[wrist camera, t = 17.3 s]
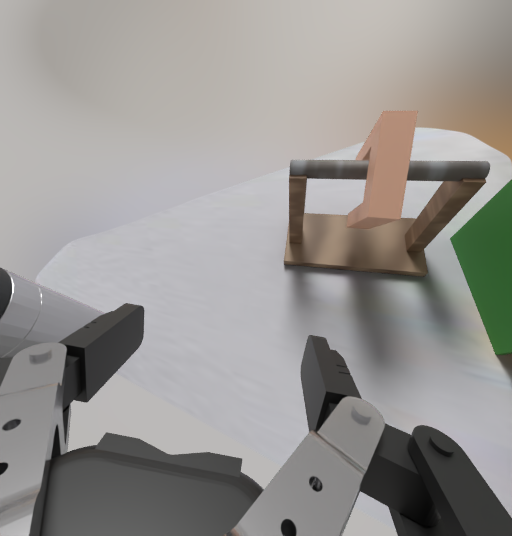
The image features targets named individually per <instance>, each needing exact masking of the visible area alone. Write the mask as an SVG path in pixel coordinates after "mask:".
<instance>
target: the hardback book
mask: <svg viewBox="0 0 512 536" xmlns="http://www.w3.org/2000/svg"><path fill="white" fill-rule="evenodd" d="M450 240H451V242H452V245H453V247H454V250H455V252H456V255H457V257H458V260H459V263H460V265H461V268H462V270H463V273H464V275H465V278H466V280H467V283H468V285H469V288H470V291H471V293H472V296H473V298H474V301H475V303H476V306H477V308H478V311H479V313H480V316H481V319H482V321H483V324H484V326H485V329H486V331H487V334H488V336H489V339H490V342H491V344H492V347H493V349H494V352H495V354H496V355H506V354H512V180H511V181H509V182H508V183H507V184H506V185H505V186H504V187H503V188H502V189H501V190H500V191H499V192H498V193H497V194H496V195H495V196H494V197H493V198H492V199H491V200H490V201H489V202H488V203H487V204H486V205H485V206H484V207H482V208H481V209H480V210H479V211H478V212H477V213H476V214H475V215H474V216H473V217H472V218H471V219H470V220H469V221H468V222H467V223H466V224H465V225H464V226H463V227H462V228H461V229H460V230H459V231H458V232H456V233H455V234H454V235H453V236H452V237H451V238H450Z"/></svg>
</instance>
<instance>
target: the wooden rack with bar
mask: <svg viewBox="0 0 512 536" xmlns="http://www.w3.org/2000/svg"><path fill="white" fill-rule="evenodd" d="M368 165H369V160H291V163H290V176H289V226H288V234H287V241H286V249H285V257H284V264H286V265H297V266H309V267H320V268H332V269H343V270H354V271H366V272H377V273H388V274H400V275H411V276H422V277H424V276H425V275H426V274H427V273H428V270H427V265H426V259H425V253H424V248H425V247H426V246H427V245H428V244H429V243H430V242H431V241H432V240H433V239H434V238H435V237H436V236H437V234H438V233H439V232H440V231H441V230H442V229H443V228H444V227H445V226H446V225H447V224H448V223H449V222H450V221H451V219H452V218H453V217H454V216H455V215H456V214H457V213H458V212H459V211H460V210H461V209H462V208H463V207H464V206H465V204H466V203H467V202H468V201H469V200H470V199H471V198H472V197H473V196H474V195H475V194H476V193H477V192H478V191H479V189H480V188H481V187H482V186H483V185H484V184H485V183H486V180H485V178H486V177H487V175H488V173H489V170H490V164H489V162H487V161H410V163H409V169H408V175H407V180H411V181H444V182H443V183H442V184H441V186H440V187H439V188H438V190H437V191H436V193H435V194H434V195H433V197H432V198H431V199H430V201H429V202H428V204H427V205H426V206H425V208H424V209H423V210H422V212H421V213H420V215H419V216H418V217H417V219H413V218H401V219H400V220H397V221H393V222H390V223H387V224H383V225H380V226H377V227H374V228H370V229H358V228H346V226H347V219H348V215H329V214H309V213H304V208H305V196H306V183H307V178H317V179H364V180H366V179H367V172H368Z"/></svg>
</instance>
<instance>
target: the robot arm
mask: <svg viewBox="0 0 512 536" xmlns="http://www.w3.org/2000/svg"><path fill="white" fill-rule="evenodd" d="M143 334H144V308H143V306H139V305H134V304H128V303H126V304H124V305H122V306H121V307H119V308H118V309H116V310H115V311H111V312H109V313H103V312H101V311H99V310H97V309H95V308H92V307H90V306H88V305H86V304H83V303H81V302H79V301H76V300H74V299H72V298H69V297H67V296H65V295H63V294H60V293H58V292H56V291H53V290H51V289H49V288H46V287H44V286H42V285H40V284H37V283H35V282H33V281H30V280H28V279H25V278H23V277H21V276H18V275H16V274H14V273H11V272H9V271H7V270H4V269H2V268H0V536H342V534H343V532H344V529H345V527H346V524H347V522H348V520H349V517H350V515H351V512H352V510H353V507H354V505H355V502H356V500H357V498H358V495H359V493H360V491H361V492H363V493H365V494H367V495H368V496H370V497H372V498H374V499H376V500H377V501H379V502H381V503H383V504H385V505H387V506H388V507H389V510H390V513H391V516H392V519H393V522H394V525H395V528H396V531H397V534H398V536H512V518H511V516H510V515H509V514H508V512H507V511H506V509H505V508H504V507H503V505H502V504H501V502H500V501H499V500H498V498H497V497H496V495H495V494H494V493H493V491H492V490H491V488H490V487H489V486H488V484H487V483H486V481H485V480H484V479H483V477H482V476H481V474H480V473H479V472H478V470H477V469H476V467H475V466H474V465H473V463H472V462H471V460H470V459H469V458H468V456H467V455H466V453H465V452H464V451H463V450H462V448H461V447H460V446H459V445H458V444H457V443H456V442H455V441H453V440H452V439H451V438H450V437H448V436H447V435H445V434H444V433H442V432H440V431H439V430H437V429H434V428H432V427H429V426H424V425H420V426H417V427H415V428H414V430H413V432H412V435H410V434H408V433H405V432H403V431H401V430H398V429H396V428H394V427H392V426H389V425H387V424H385V422H384V419H383V417H382V415H381V414H380V412H379V411H378V410H377V409H376V408H375V407H374V406H373V405H371V404H370V403H368V402H367V401H365V400H363V399H362V398H361V396H360V394H359V392H358V389H357V387H356V385H355V383H354V381H353V378H352V376H351V375H350V372H349V369H348V368H347V365H346V363H345V361H344V358H343V357H342V356H341V355H340V354H339V353H338V352H337V351H336V350H330V348H329V345H328V343H327V340H326V338H323V337H318V336H312V335H309V336H308V339H307V343H306V347H305V351H304V356H303V360H302V364H301V381H302V388H303V394H304V401H305V407H306V414H307V420H308V427H309V433H308V435H307V436H306V437H305V439H304V440H303V441H302V442H301V444H300V445H299V446H298V447H297V449H296V450H295V451H294V452H293V454H292V455H291V456H290V458H289V459H288V460H287V461H286V463H285V464H284V465H283V466H282V468H281V469H280V470H279V472H278V473H277V474H276V475H275V477H274V478H273V479H272V480H271V482H270V483H269V484H268V486H267V487H266V488H265V489H264V490H263V489H262V487H261V486H259V485H258V484H257V483H256V482H255V481H254V480H253V479H251V478H250V477H248V476H247V475H245V474H243V473H242V472H241V464H242V459H241V458H236V457H230V456H225V455H220V454H215V453H210V452H206V453H191V454H179V455H170V454H166V453H165V452H163V451H161V450H159V449H157V448H155V447H154V446H152V445H150V444H148V443H146V442H144V441H142V440H140V439H137V438H132V437H127V436H122V435H117V434H112V433H106V434H105V435H104V436H103V438H102V439H101V440H100V442H99V443H98V445H94V446H88V447H83V448H79V449H76V450H72V451H70V452H67V449H68V438H69V427H70V416H71V405H70V403H71V402H72V401H73V400H76V401H81V402H88V401H89V400H90V399H91V398H92V397H93V396H94V395H95V394H96V393H97V391H98V390H99V389H100V388H101V387H102V386H103V385H104V384H105V383H106V382H107V381H108V380H109V379H110V378H111V377H112V376H113V374H114V373H115V372H116V371H117V370H118V369H119V368H120V367H121V366H122V365H123V364H124V363H125V362H126V361H127V360H128V359H129V357H130V356H131V355H132V354H133V353H134V352H135V351H136V350H137V349H138V348H139V346H140V345H141V343H142V340H143Z"/></svg>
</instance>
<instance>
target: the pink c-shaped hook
mask: <svg viewBox="0 0 512 536" xmlns="http://www.w3.org/2000/svg"><path fill="white" fill-rule="evenodd" d="M417 113H418V111H383V112H382V114H381V116H380V117H379V119H378V121H377V123H376V124H375V126H374V128H373V129H372V131H371V133H370V135H369V136H368V138H367V140H366V141H365V143H364V145H363V147H362V148H361V150H360V152H359V153H358V155H357V157H356V160H369V165H368V172H367V179H366V186H365V193H364V200H363V203H362V204H360V205H359V206H358V207H356V208H355V209H354V210H353V211H351V212H350V213H349V214H348V219H347V226H346V228H358V229H370V228H374V227H377V226H380V225H383V224H387V223H390V222H393V221H397V220H400V219H401V212H402V206H403V200H404V194H405V187H406V181H407V175H408V169H409V163H410V156H411V150H412V144H413V138H414V131H415V124H416V119H417Z"/></svg>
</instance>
